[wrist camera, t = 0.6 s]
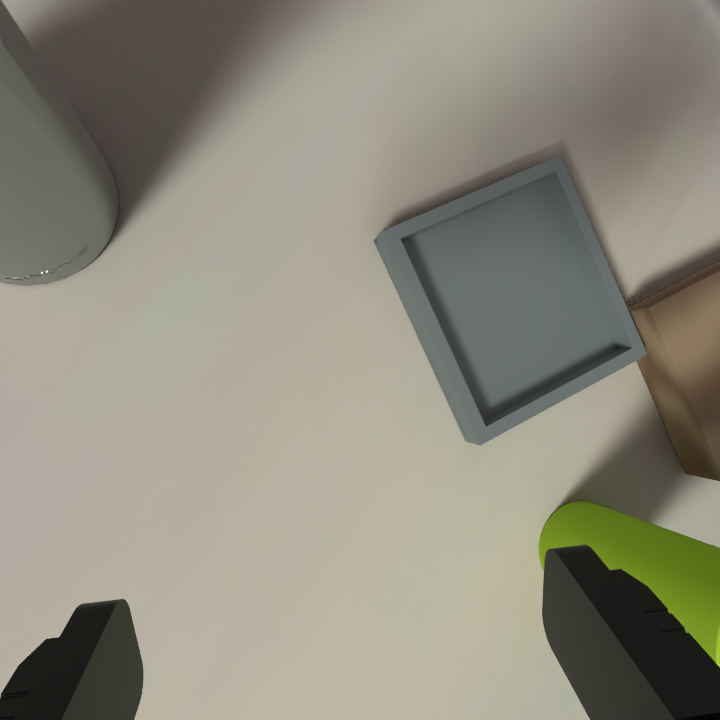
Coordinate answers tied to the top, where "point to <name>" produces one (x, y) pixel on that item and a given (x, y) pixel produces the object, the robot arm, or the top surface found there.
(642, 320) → the crank base
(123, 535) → the top surface
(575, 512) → the soap dispenser
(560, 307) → the tray
